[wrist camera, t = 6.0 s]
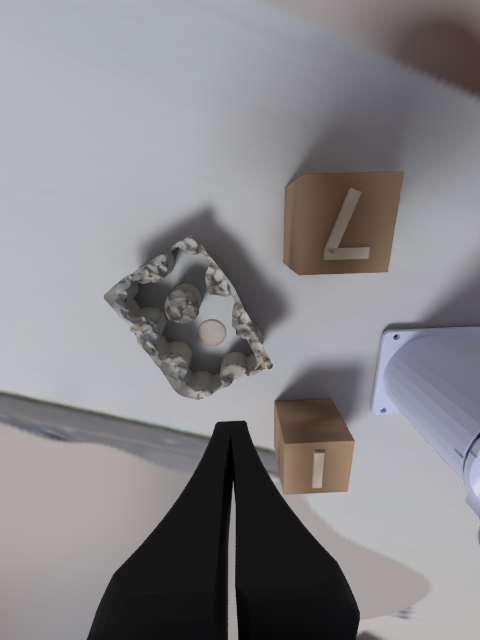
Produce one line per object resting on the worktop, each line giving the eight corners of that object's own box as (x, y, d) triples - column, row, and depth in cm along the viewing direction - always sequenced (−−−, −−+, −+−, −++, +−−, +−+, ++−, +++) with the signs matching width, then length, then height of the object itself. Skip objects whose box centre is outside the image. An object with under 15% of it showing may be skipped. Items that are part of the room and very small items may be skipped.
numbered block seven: (358, 185, 18) (406, 170, 13) (350, 260, 20) (389, 272, 15) (284, 187, 18) (304, 173, 13) (282, 263, 20) (299, 275, 15)
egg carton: (272, 346, 22) (280, 372, 18) (195, 385, 23) (187, 418, 19) (203, 227, 19) (196, 229, 15) (117, 279, 20) (90, 293, 16)
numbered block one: (330, 397, 24) (355, 442, 19) (326, 442, 25) (348, 493, 21) (274, 400, 24) (285, 446, 19) (274, 444, 25) (283, 497, 20)
